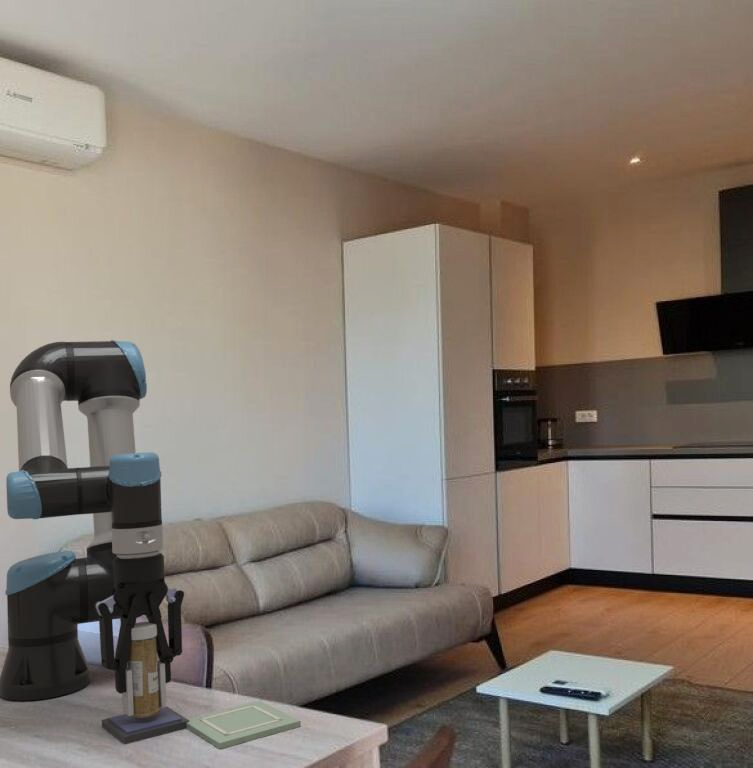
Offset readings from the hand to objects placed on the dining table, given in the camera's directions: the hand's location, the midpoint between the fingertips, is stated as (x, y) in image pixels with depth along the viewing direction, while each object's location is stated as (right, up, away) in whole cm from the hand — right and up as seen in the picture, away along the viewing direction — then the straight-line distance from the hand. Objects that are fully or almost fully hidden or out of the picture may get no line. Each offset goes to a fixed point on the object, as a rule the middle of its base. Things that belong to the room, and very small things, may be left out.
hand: (144, 709), depth 133 cm
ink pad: (0, -3, 0) cm, 3 cm away
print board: (+15, -2, -2) cm, 15 cm away
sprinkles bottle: (0, -1, 0) cm, 1 cm away
